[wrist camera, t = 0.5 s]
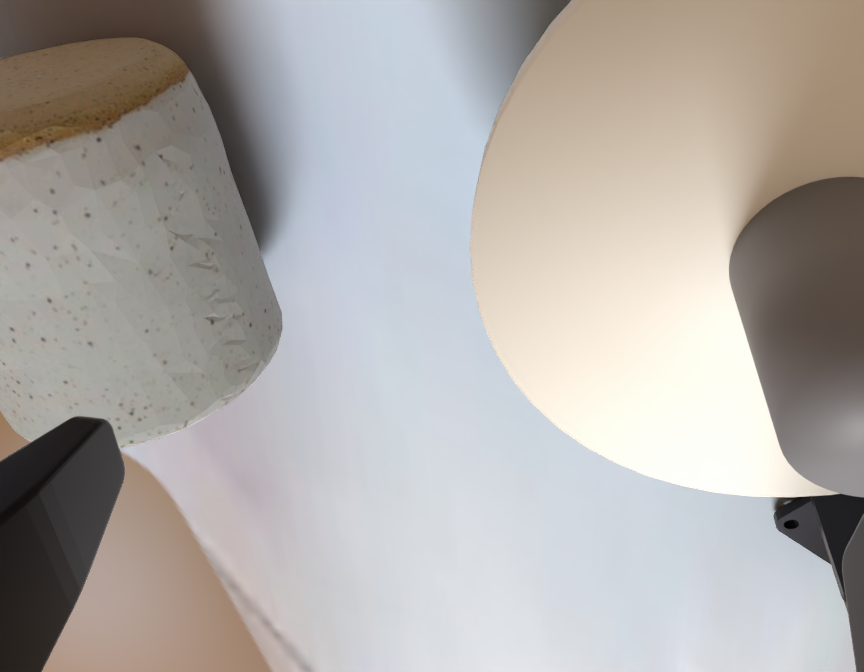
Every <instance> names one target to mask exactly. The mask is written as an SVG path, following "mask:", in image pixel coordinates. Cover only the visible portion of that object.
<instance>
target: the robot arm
mask: <svg viewBox="0 0 864 672" xmlns="http://www.w3.org/2000/svg"><path fill="white" fill-rule="evenodd" d="M124 474H125V468H124V462H123V459H122V455H121V452H120V449H119V446H118V443H117V440H116V437H115V434H114V430H113V427H112V425H111V424H110V423H109V422H108V421H107V420H105V419H103V418H94V417H85V416H75V417H72V418H70V419H68V420H66V421H65V422H63V423H62V424H60V425H58V426H57V427H55V428H53V429H52V430H50V431H48V432H47V433H45V434H44V435H42V436H40V437H39V438H37V439H35V440H34V441H32V442H30V443H29V444H27V445H26V446H24V447H22V448H21V449H19V450H17V451H16V452H14V453H13V454H11V455H9V456H8V457H6V458H4V459H3V460H1V461H0V672H42V670H43V668H44V666H45V664H46V662H47V660H48V658H49V656H50V654H51V652H52V650H53V648H54V646H55V644H56V642H57V640H58V638H59V636H60V634H61V632H62V630H63V628H64V626H65V624H66V622H67V620H68V618H69V616H70V615H71V612H72V611H73V608H74V606H75V604H76V602H77V600H78V598H79V596H80V594H81V591H82V589H83V587H84V584H85V582H86V579H87V577H88V574H89V572H90V569H91V567H92V564H93V561H94V558H95V556H96V553H97V551H98V548H99V545H100V542H101V540H102V537H103V535H104V532H105V529H106V527H107V524H108V521H109V519H110V516H111V513H112V511H113V508H114V505H115V503H116V500H117V497H118V494H119V492H120V489H121V487H122V484H123V480H124ZM774 520H775V524H776V528H777V529H778V530H779V531H780V532H782V533H783V534H785V535H786V536H788V537H789V538H791V539H792V540H794V541H796V542H797V543H799V544H800V545H802V546H803V547H805V548H806V549H808V550H809V551H811V552H813V553H814V554H816V555H817V556H819V557H820V558H822V559H823V560H825V561H826V562H828V563H830V564H831V565H832V568H833V571H834V574H835V578H836V581H837V584H838V587H839V590H840V593H841V596H842V598H843V600H844V602H845V605H846V608H847V611H848V615H849V622H850V629H851V637H852V644H853V651H854V658H855V665H856V672H864V497H856V496H850V495H845V494H834V495H823V496H805V497H798V498H797V499H795V500H793V501H792V502H790V503H788V504H786V505H785V506H783V507H781V508H780V509H778V510H777V511H776V512H775V513H774Z"/></svg>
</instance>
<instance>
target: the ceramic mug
mask: <svg viewBox="0 0 864 672" xmlns="http://www.w3.org/2000/svg"><path fill="white" fill-rule="evenodd" d="M281 332H282V312H281V309H280V307H279V304H278V301H277V298H276V296H275V293H274V290H273V288H272V285H271V282H270V279H269V277H268V274H267V271H266V268H265V265H264V262H263V259H262V256H261V253H260V250H259V247H258V244H257V241H256V238H255V235H254V232H253V230H252V227H251V224H250V221H249V219H248V216H247V213H246V211H245V208H244V205H243V202H242V200H241V197H240V194H239V192H238V189H237V186H236V184H235V181H234V178H233V175H232V173H231V170H230V166H229V163H228V159H227V156H226V152H225V149H224V145H223V142H222V138H221V135H220V133H219V130H218V128H217V125H216V123H215V120H214V118H213V115H212V112H211V110H210V107H209V105H208V103H207V102H206V100H205V98H204V96H203V94H202V92H201V91H200V89H199V87H198V84H197V82H196V80H195V78H194V77H193V75H192V73H191V72H190V70H189V69H188V67H187V65H186V64H185V62H184V61H183V60H182V59H181V58H180V57H179V56H178V55H177V54H176V53H175V52H174V51H172V50H170V49H168V48H167V47H165V46H163V45H161V44H159V43H156V42H153V41H150V40H148V39H144V38H135V37H126V38H107V39H97V40H90V41H82V42H75V43H69V44H64V45H60V46H55V47H50V48H45V49H41V50H36V51H32V52H28V53H23V54H19V55H15V56H12V57H8V58H4V59H1V60H0V411H1V413H2V414H3V416H4V417H5V419H6V420H7V422H8V423H9V425H10V426H11V427H12V428H13V429H14V430H15V431H16V432H17V433H18V434H20V435H21V436H22V437H23V438H25V439H26V440H28V441H30V442H32V441H34V440H35V439H37V438H39V437H40V436H42V435H44V434H45V433H47V432H48V431H50V430H52V429H53V428H55V427H57V426H58V425H60V424H62V423H63V422H65V421H66V420H68V419H70V418H72V417H75V416H85V417H94V418H103V419H105V420H107V421H108V422H109V423H110V424H111V425H112V427H113V430H114V434H115V437H116V440H117V443H118V446H119V449H121V448H126V447H130V446H134V445H138V444H141V443H145V442H149V441H152V440H156V439H159V438H162V437H165V436H168V435H171V434H173V433H176V432H178V431H180V430H182V429H185V428H188V427H189V426H191V425H193V424H195V423H197V422H199V421H201V420H202V419H204V418H206V417H207V416H209V415H211V414H212V413H214V412H215V411H217V410H218V409H220V408H222V407H223V406H225V405H226V404H228V403H229V402H231V401H232V400H234V399H235V398H236V397H238V396H239V395H240V394H241V393H242V392H243V391H244V390H245V389H246V388H247V387H249V386H250V385H251V384H252V383H253V382H254V381H255V380H256V378H257V377H258V376H259V375H260V373H261V372H262V371H263V370H264V369H265V367H266V366H267V365H268V364H269V362H270V360H271V359H272V357H273V355H274V354H275V352H276V350H277V347H278V344H279V341H280V337H281Z"/></svg>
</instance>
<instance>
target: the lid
mask: <svg viewBox="0 0 864 672" xmlns="http://www.w3.org/2000/svg"><path fill="white" fill-rule="evenodd" d="M470 253H471V265H472V276H473V286H474V290H475V294H476V298H477V302H478V306H479V310H480V315H481V319H482V321H483V324H484V326H485V329H486V331H487V333H488V336H489V338H490V341H491V343H492V345H493V348H494V350H495V352H496V354H497V355H498V357H499V359H500V360H501V362H502V363H503V365H504V367H505V368H506V370H507V372H508V373H509V375H510V377H511V378H512V380H513V381H514V382H515V383H516V385H517V386H518V387H519V388H520V389H521V391H522V392H523V393H524V394H525V395H526V397H527V398H528V399H529V400H530V402H531V403H532V404H533V405H534V406H535V407H536V408H537V409H538V410H539V411H541V412H542V413H543V414H544V415H545V416H546V417H547V418H548V419H549V420H550V421H551V422H552V423H554V424H555V425H556V426H557V427H558V428H560V429H561V430H562V431H564V432H565V433H567V434H568V435H569V436H571V437H572V438H574V439H575V440H576V441H578V442H579V443H581V444H582V445H583V446H585V447H587V448H589V449H591V450H592V451H594V452H596V453H598V454H600V455H601V456H603V457H605V458H607V459H609V460H611V461H612V462H615V463H617V464H619V465H622V466H624V467H627V468H629V469H631V470H634V471H636V472H639V473H641V474H643V475H646V476H650V477H653V478H656V479H660V480H663V481H666V482H669V483H673V484H676V485H680V486H685V487H690V488H695V489H700V490H705V491H710V492H715V493H724V494H733V495H743V496H753V497H805V496H823V495H834V494H845V495H850V496H856V497H864V0H571V1H570V2H569V3H568V5H567V6H566V7H565V8H564V9H563V10H562V11H561V12H560V13H559V15H558V16H557V17H556V18H555V19H554V20H553V21H552V22H551V24H550V25H549V27H548V28H547V29H546V31H545V32H544V34H543V35H542V37H541V38H540V39H539V41H538V42H537V44H536V45H535V46H534V48H533V49H532V51H531V52H530V54H529V55H528V56H527V58H526V59H525V61H524V62H523V64H522V65H521V67H520V69H519V71H518V73H517V75H516V77H515V79H514V81H513V82H512V84H511V86H510V88H509V90H508V92H507V94H506V96H505V98H504V100H503V101H502V103H501V105H500V108H499V110H498V113H497V116H496V119H495V121H494V124H493V127H492V130H491V132H490V135H489V138H488V141H487V143H486V146H485V150H484V155H483V159H482V164H481V169H480V173H479V178H478V183H477V187H476V193H475V199H474V205H473V212H472V228H471V243H470Z"/></svg>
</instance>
